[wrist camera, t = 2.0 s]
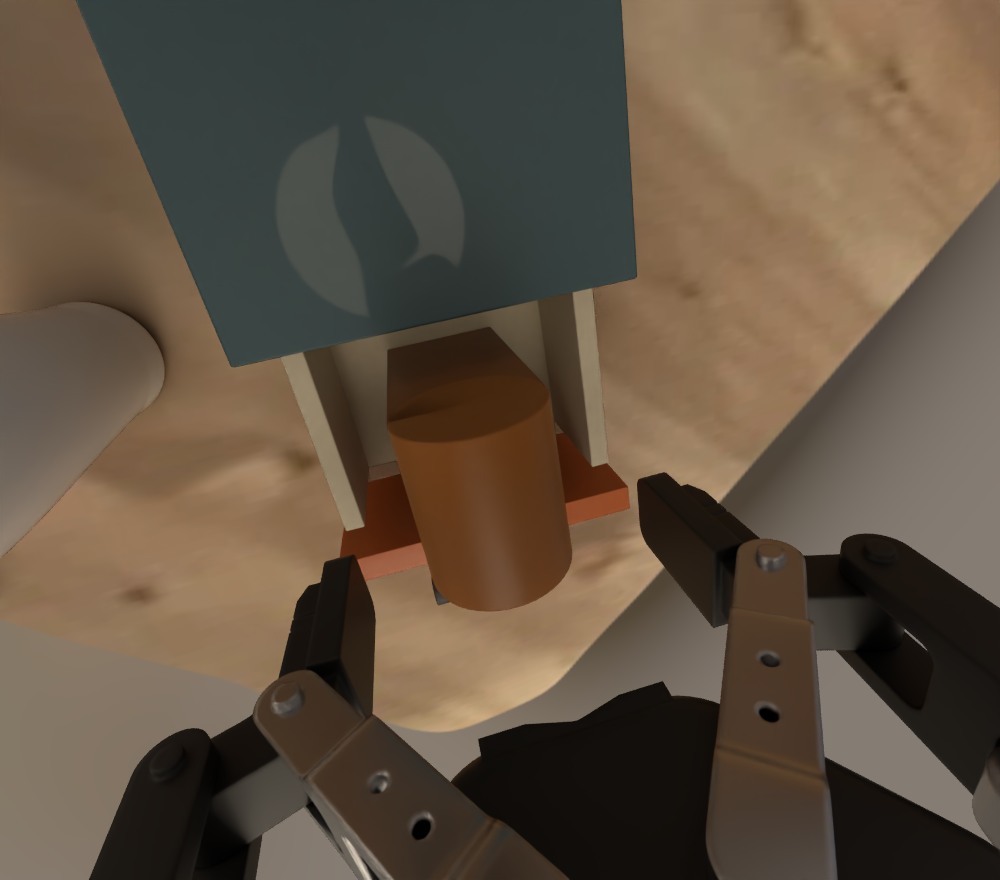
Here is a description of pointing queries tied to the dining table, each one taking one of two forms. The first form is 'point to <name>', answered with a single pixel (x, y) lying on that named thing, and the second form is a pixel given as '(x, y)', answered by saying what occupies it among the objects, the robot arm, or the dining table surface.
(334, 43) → the cabinet
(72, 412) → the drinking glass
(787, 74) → the dining table surface
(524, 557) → the bread
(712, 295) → the dining table surface
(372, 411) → the drawer
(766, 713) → the robot arm
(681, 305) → the dining table surface
